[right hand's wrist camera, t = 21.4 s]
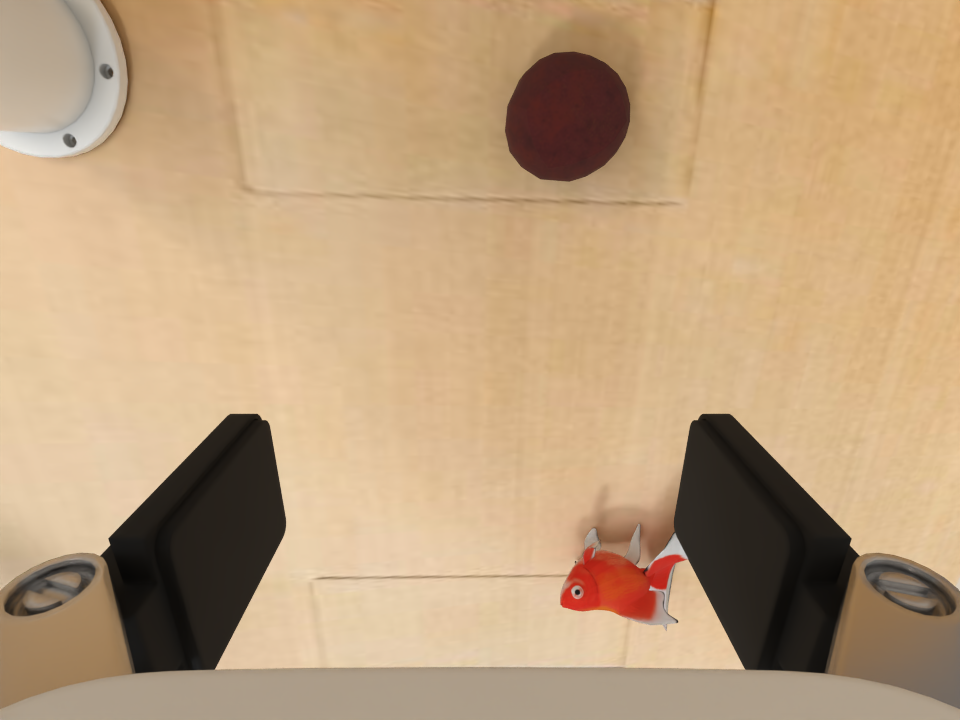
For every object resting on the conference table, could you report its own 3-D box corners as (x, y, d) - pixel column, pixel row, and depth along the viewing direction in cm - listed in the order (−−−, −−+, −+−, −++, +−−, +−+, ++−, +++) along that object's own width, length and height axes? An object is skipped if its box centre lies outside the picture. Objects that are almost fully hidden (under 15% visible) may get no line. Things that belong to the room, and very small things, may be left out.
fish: (561, 502, 42) (632, 625, 35) (701, 463, 48) (783, 561, 42) (528, 567, 48) (582, 679, 42) (654, 525, 55) (718, 617, 48)
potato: (628, 145, 36) (662, 143, 29) (528, 198, 37) (539, 208, 31) (588, 37, 34) (614, 9, 27) (482, 98, 35) (483, 85, 28)
